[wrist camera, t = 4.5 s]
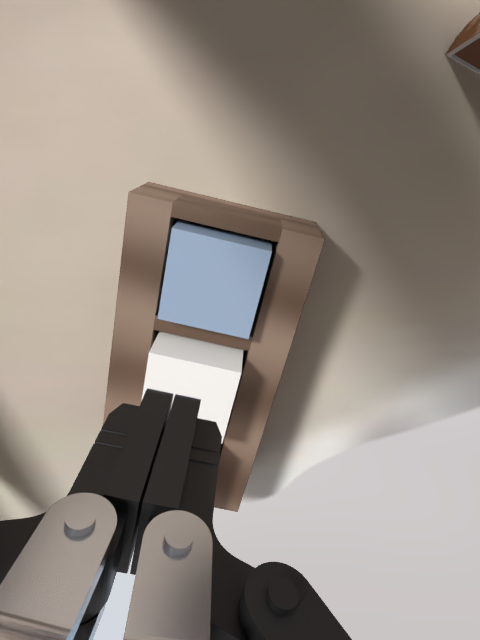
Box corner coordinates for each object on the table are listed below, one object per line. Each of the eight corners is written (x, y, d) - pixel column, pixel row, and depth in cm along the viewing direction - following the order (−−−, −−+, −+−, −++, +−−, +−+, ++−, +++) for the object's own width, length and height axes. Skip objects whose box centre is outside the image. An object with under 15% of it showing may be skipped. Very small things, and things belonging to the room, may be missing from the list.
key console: (148, 182, 24) (128, 192, 21) (315, 222, 25) (324, 239, 21) (115, 443, 33) (96, 483, 29) (240, 469, 33) (237, 511, 29)
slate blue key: (182, 215, 23) (172, 227, 20) (270, 236, 23) (272, 251, 21) (168, 297, 25) (157, 318, 22) (250, 316, 25) (248, 339, 23)
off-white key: (161, 327, 25) (148, 352, 22) (243, 345, 25) (241, 372, 22) (150, 395, 27) (137, 426, 24) (226, 411, 27) (222, 443, 24)
